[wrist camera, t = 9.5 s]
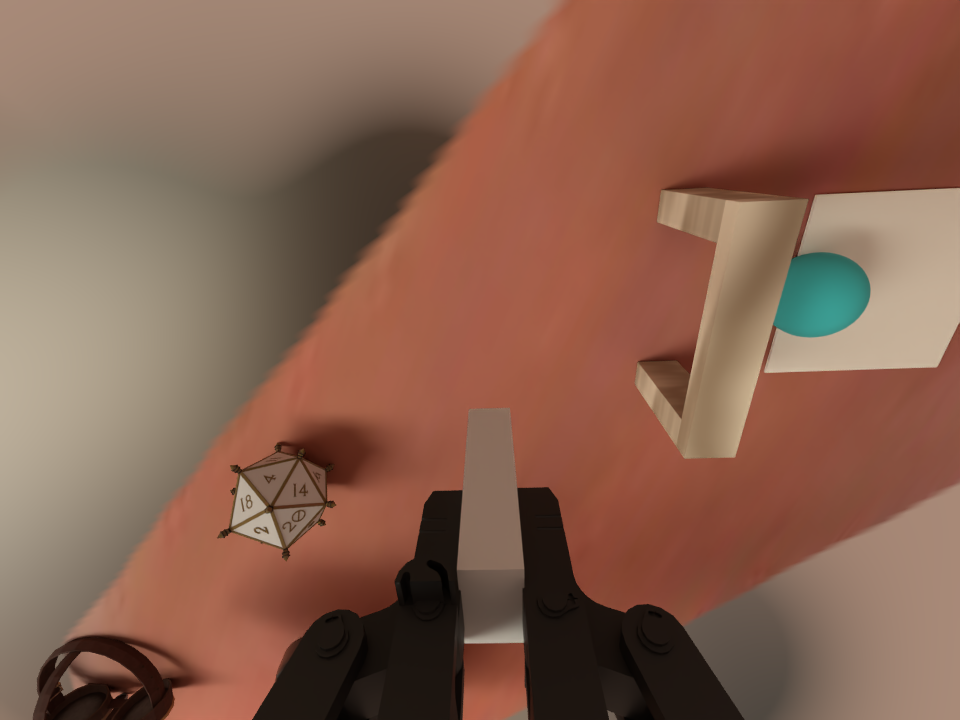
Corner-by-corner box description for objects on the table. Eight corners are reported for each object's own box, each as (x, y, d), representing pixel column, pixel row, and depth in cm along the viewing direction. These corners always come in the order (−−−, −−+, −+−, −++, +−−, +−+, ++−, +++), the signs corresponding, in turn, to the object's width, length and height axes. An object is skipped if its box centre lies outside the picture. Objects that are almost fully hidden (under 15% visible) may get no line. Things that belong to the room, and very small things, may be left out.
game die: (314, 423, 40) (298, 425, 30) (358, 499, 40) (355, 525, 30) (221, 475, 37) (170, 495, 27) (268, 555, 37) (234, 604, 28)
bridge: (708, 187, 26) (808, 198, 18) (672, 382, 33) (735, 457, 24) (661, 189, 27) (739, 202, 18) (634, 384, 33) (684, 458, 25)
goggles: (89, 699, 56) (1, 791, 46) (54, 620, 53) (-47, 700, 43) (193, 692, 54) (126, 785, 45) (163, 611, 52) (84, 691, 42)
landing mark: (934, 365, 32) (937, 367, 32) (763, 371, 32) (765, 372, 32) (1024, 184, 26) (1027, 184, 26) (815, 194, 26) (817, 195, 26)
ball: (738, 334, 29) (781, 315, 31) (830, 358, 24) (873, 334, 27) (751, 256, 27) (797, 242, 29) (856, 266, 22) (900, 249, 24)
